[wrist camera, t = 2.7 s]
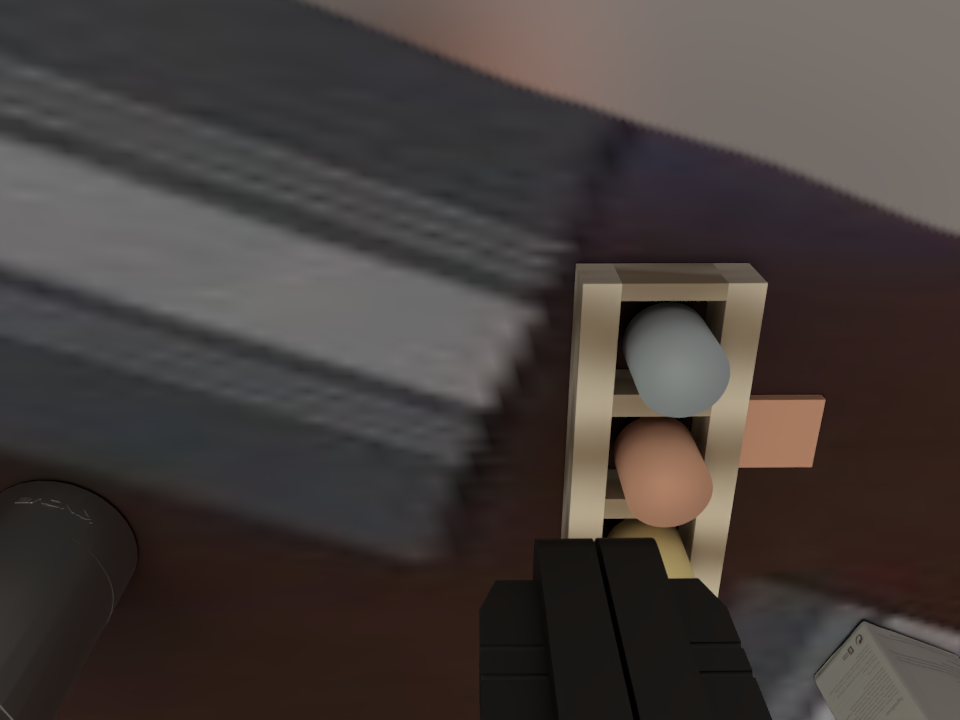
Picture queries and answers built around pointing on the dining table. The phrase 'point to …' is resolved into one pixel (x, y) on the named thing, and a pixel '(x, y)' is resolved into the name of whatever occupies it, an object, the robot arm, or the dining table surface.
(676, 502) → the terracotta button
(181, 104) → the dining table surface
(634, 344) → the slate-grey button
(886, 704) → the skincare box
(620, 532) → the ochre button
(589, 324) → the button panel
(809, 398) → the tile
